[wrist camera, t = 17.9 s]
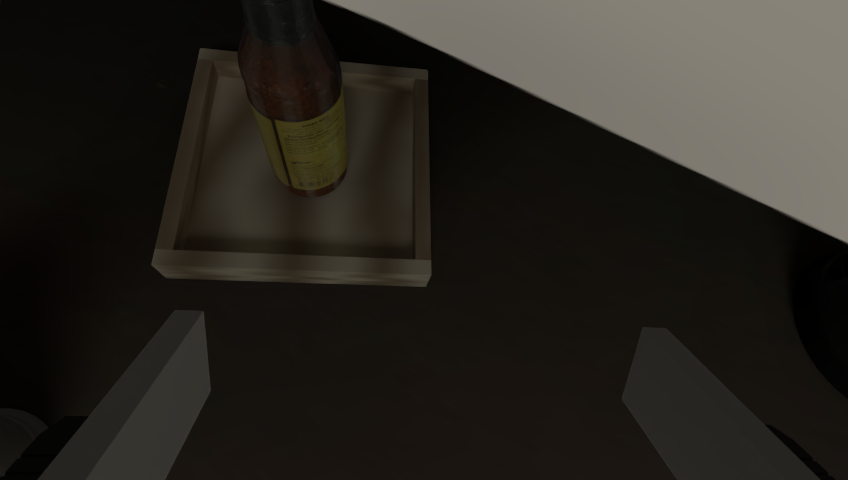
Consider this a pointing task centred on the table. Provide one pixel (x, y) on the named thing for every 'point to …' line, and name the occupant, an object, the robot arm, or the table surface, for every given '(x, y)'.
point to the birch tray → (291, 214)
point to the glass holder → (16, 435)
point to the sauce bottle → (295, 94)
